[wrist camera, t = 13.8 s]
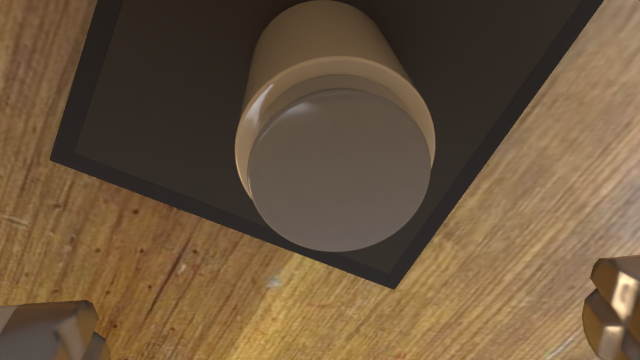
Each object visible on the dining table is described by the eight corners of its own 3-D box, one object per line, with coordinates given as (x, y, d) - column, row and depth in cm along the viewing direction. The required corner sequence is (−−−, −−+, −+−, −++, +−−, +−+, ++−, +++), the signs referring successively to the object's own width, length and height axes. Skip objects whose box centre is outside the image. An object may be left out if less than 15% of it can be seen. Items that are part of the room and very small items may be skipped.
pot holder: (54, 153, 22) (48, 161, 21) (195, -307, 15) (191, -315, 14) (392, 282, 26) (394, 291, 25) (619, -35, 19) (629, -33, 19)
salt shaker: (229, 102, 20) (196, 222, 13) (288, -28, 18) (287, 30, 11) (349, 155, 22) (379, 290, 14) (417, 40, 19) (491, 131, 12)
